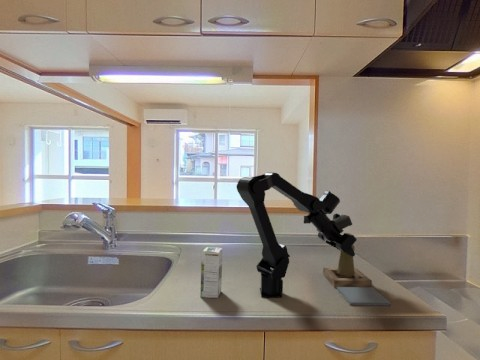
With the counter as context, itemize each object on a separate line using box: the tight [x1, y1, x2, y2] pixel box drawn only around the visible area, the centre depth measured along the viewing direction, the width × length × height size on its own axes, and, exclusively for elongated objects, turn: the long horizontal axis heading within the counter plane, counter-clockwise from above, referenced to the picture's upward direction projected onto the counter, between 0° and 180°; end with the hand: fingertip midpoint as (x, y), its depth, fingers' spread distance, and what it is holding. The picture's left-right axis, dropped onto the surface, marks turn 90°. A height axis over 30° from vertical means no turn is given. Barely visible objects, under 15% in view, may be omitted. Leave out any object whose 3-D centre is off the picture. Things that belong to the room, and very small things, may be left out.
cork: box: [337, 244, 355, 276], centre depth 111 cm, size 6×6×11 cm
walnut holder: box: [322, 267, 373, 289], centre depth 111 cm, size 13×13×2 cm
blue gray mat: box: [336, 286, 391, 307], centre depth 97 cm, size 12×12×1 cm
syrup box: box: [199, 246, 224, 299], centre depth 97 cm, size 6×6×14 cm
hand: (350, 253), depth 111 cm, fingers closed on cork, 5 cm apart
